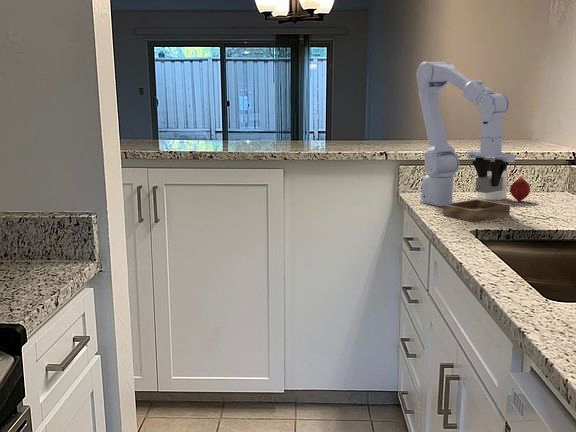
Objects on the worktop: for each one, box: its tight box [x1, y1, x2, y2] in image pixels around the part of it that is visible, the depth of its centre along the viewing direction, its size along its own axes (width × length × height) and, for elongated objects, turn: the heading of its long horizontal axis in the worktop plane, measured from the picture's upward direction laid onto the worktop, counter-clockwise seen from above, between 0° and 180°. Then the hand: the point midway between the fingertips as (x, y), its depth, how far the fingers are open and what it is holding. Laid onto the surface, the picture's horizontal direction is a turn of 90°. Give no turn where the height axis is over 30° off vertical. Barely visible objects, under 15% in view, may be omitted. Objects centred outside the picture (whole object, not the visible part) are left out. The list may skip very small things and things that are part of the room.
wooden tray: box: [442, 198, 511, 223], centre depth 167 cm, size 12×14×3 cm
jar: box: [477, 160, 509, 201], centre depth 191 cm, size 9×8×12 cm
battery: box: [475, 175, 504, 193], centre depth 167 cm, size 4×8×4 cm, turn 124°
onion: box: [509, 176, 531, 202], centre depth 185 cm, size 6×6×8 cm
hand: (488, 185), depth 167 cm, fingers closed on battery, 4 cm apart
